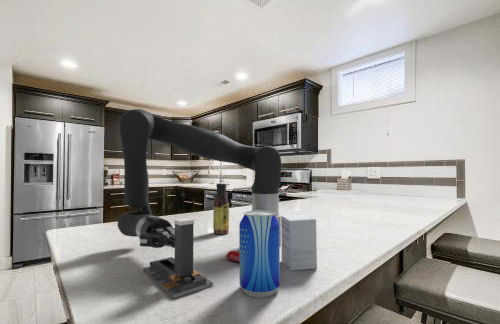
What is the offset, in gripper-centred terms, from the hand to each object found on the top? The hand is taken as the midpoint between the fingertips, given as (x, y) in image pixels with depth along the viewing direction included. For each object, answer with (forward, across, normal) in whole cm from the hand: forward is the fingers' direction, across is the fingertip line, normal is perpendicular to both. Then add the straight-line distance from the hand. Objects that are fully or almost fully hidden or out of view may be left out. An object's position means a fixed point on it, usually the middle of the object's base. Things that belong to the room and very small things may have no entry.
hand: (180, 244), depth 58 cm
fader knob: (+1, 0, -7) cm, 7 cm away
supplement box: (+10, -28, -9) cm, 31 cm away
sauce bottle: (-33, -32, -9) cm, 47 cm away
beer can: (+14, -11, -9) cm, 20 cm away
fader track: (-3, 0, -8) cm, 9 cm away
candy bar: (+1, -20, -9) cm, 22 cm away
